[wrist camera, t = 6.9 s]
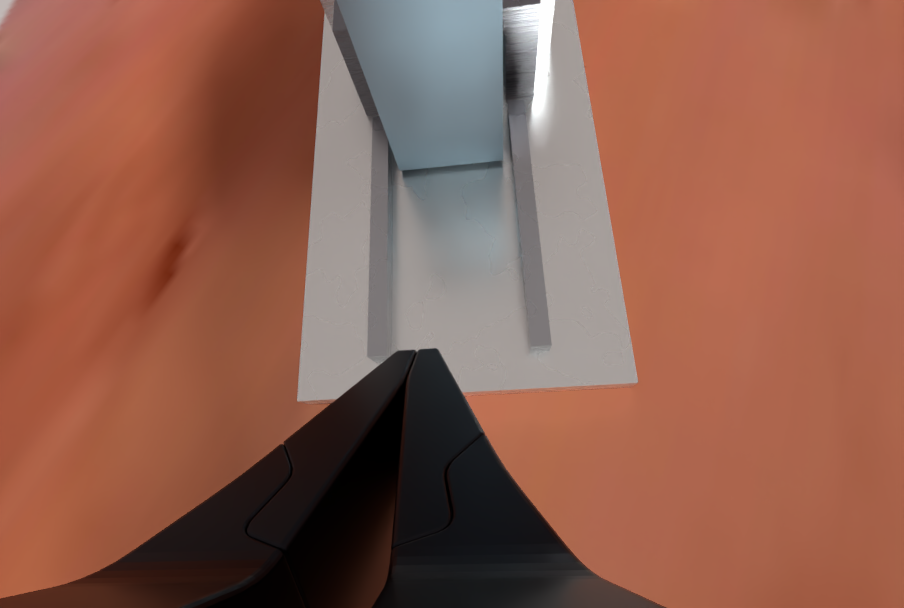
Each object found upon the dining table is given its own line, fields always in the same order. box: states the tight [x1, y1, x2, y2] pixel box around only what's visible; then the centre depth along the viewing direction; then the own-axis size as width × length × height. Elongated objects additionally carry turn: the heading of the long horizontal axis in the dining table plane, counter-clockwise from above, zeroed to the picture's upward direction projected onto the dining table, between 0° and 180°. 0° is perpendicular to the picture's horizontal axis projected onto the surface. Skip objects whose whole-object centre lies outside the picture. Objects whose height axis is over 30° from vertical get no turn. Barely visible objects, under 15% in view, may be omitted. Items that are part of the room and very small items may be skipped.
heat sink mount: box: [297, 0, 638, 404], centre depth 20 cm, size 24×14×7 cm, turn 3°
